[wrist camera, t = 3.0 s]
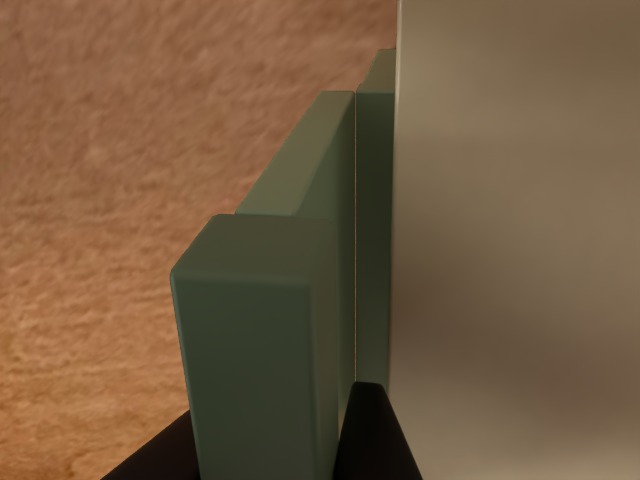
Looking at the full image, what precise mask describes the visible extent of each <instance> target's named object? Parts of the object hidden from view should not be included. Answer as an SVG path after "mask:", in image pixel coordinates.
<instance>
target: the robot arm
mask: <svg viewBox="0 0 640 480" xmlns="http://www.w3.org/2000/svg"><path fill="white" fill-rule="evenodd" d="M100 480H201V477H200V471H199V464H198V458H197V451H196V445H195V439H194V432H193V426H192V419H191V413H190V409H189V410H188V411H187V412H185V413H184V414H183V415H182V416H180V417H179V418H178V419H176V420H175V421H174V422H173V423H171V424H170V425H169V426H168V427H166V428H165V429H164V430H162V431H161V432H160V433H159V434H157V435H156V436H155V437H154V438H152V439H151V440H150V441H149V442H147V443H146V444H145V445H143V446H142V447H141V448H140V449H138V450H137V451H136V452H135V453H133V454H132V455H131V456H129V457H128V458H127V459H126V460H124V461H123V462H122V463H121V464H119V465H118V466H117V467H116V468H114V469H113V470H112V471H110V472H109V473H108V474H107V475H105V476H104V477H103V478H102V479H100ZM337 480H423V478H422V476H421V473H420V471H419V469H418V466H417V464H416V462H415V459H414V457H413V454H412V452H411V450H410V447H409V445H408V443H407V440H406V438H405V436H404V433H403V431H402V429H401V426H400V424H399V422H398V419H397V417H396V414H395V412H394V410H393V407H392V405H391V403H390V400H389V398H388V396H387V393H386V391H385V389H384V387H383V386H382V385H381V384H379V383H371V382H360V381H356V382H354V383H353V384H352V386H351V391H350V395H349V399H348V403H347V408H346V412H345V416H344V420H343V425H342V429H341V433H340V438H339V446H338V457H337Z"/></svg>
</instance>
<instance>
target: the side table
mask: <svg viewBox="0 0 640 480" xmlns="http://www.w3.org/2000/svg"><path fill="white" fill-rule="evenodd" d="M386 393H387V396H388V398H389V400H390V403H391V405H392V407H393V410H394V412H395V414H396V417H397V419H398V422H399V424H400V426H401V429H402V431H403V433H404V436H405V438H406V440H407V443H408V445H409V447H410V450H411V452H412V454H413V457H414V459H415V462H416V464H417V466H418V469H419V471H420V473H421V476H422V478H423V480H640V0H398V7H397V41H396V75H395V109H394V143H393V178H392V212H391V246H390V280H389V314H388V348H387V382H386Z"/></svg>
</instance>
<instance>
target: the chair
mask: <svg viewBox="0 0 640 480" xmlns="http://www.w3.org/2000/svg"><path fill="white" fill-rule="evenodd" d="M395 75H396V49H380V50H378V52H377V54H376V56H375V58H374V60H373V62H372V64H371V66H370V69H369V71H368V73H367V75H366V77H365V79H364V81H363V83H361V84H360V85H359V87H358V89H357V91H356V381H360V382H371V383H379V384H381V385H382V386H383V387H384V389H385V391H386V382H387V348H388V314H389V280H390V246H391V212H392V178H393V143H394V109H395ZM170 285H171V291H172V298H173V304H174V311H175V317H176V323H177V330H178V336H179V343H180V349H181V355H182V362H183V368H184V375H185V381H186V387H187V394H188V400H189V407H190V413H191V419H192V426H193V432H194V439H195V445H196V451H197V458H198V464H199V471H200V477H201V480H337V457H338V446H339V438H340V433H341V429H342V425H343V420H344V416H345V412H346V408H347V403H348V399H349V395H350V391H351V386H352V384H353V383H354V382H355V93H354V92H353V91H320V92H319V94H318V95H317V97H316V98H315V100H314V101H313V102H312V104H311V105H310V107H309V108H308V109H307V111H306V112H305V114H304V115H303V116H302V118H301V119H300V121H299V122H298V123H297V125H296V126H295V128H294V129H293V130H292V132H291V133H290V135H289V136H288V138H287V139H286V140H285V142H284V143H283V145H282V146H281V147H280V149H279V150H278V152H277V153H276V154H275V156H274V157H273V159H272V160H271V161H270V163H269V164H268V166H267V167H266V168H265V170H264V171H263V173H262V174H261V176H260V177H259V178H258V180H257V181H256V183H255V184H254V185H253V187H252V188H251V190H250V191H249V192H248V194H247V195H246V197H245V198H244V199H243V201H242V202H241V204H240V205H239V207H238V208H237V209H236V211H235V215H231V214H218V215H215V216H212V218H211V219H210V220H209V222H208V223H207V224H206V225H205V227H204V228H203V229H202V231H201V232H200V233H199V234H198V236H197V237H196V238H195V240H194V241H193V242H192V243H191V245H190V246H189V247H188V249H187V250H186V251H185V253H184V254H183V255H182V256H181V258H180V259H179V260H178V262H177V263H176V264H175V265H174V267H173V268H172V270H171V273H170Z"/></svg>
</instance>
